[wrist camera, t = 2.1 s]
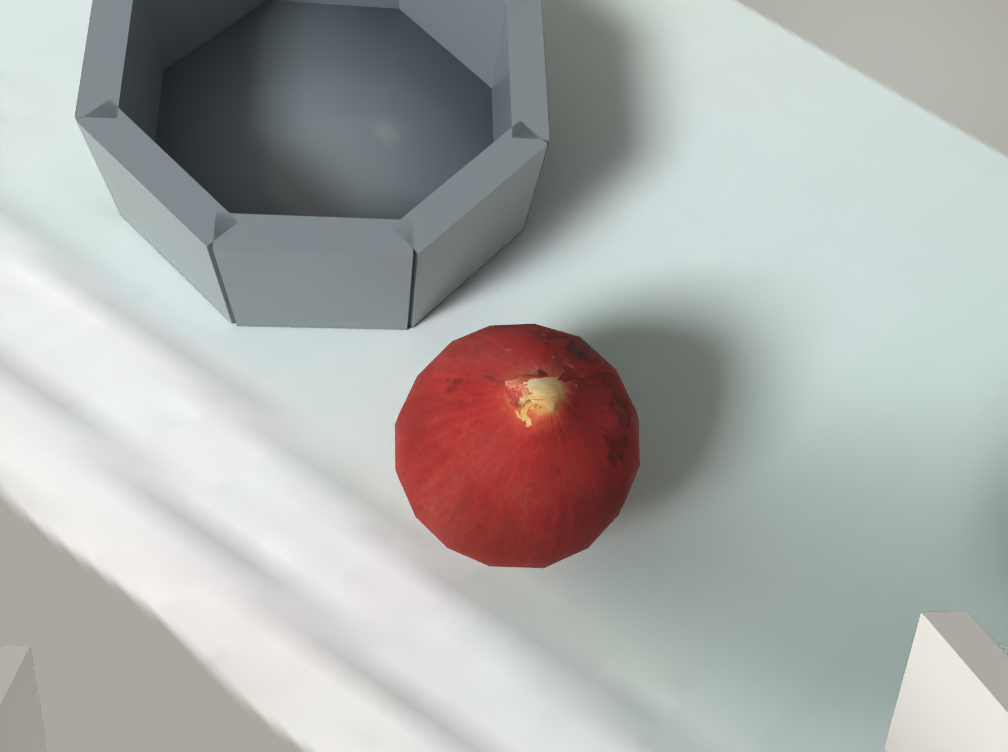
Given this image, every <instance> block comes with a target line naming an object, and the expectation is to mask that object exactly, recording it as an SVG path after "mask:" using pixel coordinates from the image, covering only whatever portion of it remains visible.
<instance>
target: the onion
mask: <svg viewBox="0 0 1008 752" xmlns="http://www.w3.org/2000/svg"><path fill="white" fill-rule="evenodd" d="M639 465H640V461H639V423H638V416H637V412H636V410H635V408H634V406H633V404H632V402H631V400H630V398H629V396H628V394H627V391H626V389H625V387H624V385H623V383H622V381H621V379H620V377H619V375H618V373H617V371H616V369H614V368H613V367H612V366H611V365H610V364H609V363H608V362H607V361H606V360H605V359H603V358H602V357H601V356H600V355H599V354H598V353H597V352H596V351H595V350H594V349H593V348H591V347H590V346H589V345H588V344H587V343H586V342H585V341H584V340H583V339H582V338H580V337H578V336H575V335H571V334H568V333H564V332H561V331H557V330H554V329H550V328H547V327H543V326H540V325H536V324H519V325H494V326H488V327H486V328H483V329H481V330H478V331H476V332H474V333H471V334H469V335H466V336H464V337H462V338H459V339H457V340H454V341H452V342H451V343H450V344H449V345H448V346H447V347H446V348H445V349H444V350H443V351H442V352H441V353H440V354H439V355H438V356H437V357H436V358H435V359H434V360H433V361H432V362H431V363H430V364H429V365H428V366H427V367H426V368H425V369H424V370H423V371H422V372H421V373H420V374H419V375H418V376H417V378H416V380H415V382H414V384H413V386H412V388H411V390H410V392H409V395H408V397H407V399H406V401H405V403H404V405H403V407H402V409H401V411H400V413H399V416H398V418H397V421H396V424H395V469H396V472H397V475H398V478H399V480H400V482H401V484H402V487H403V489H404V491H405V494H406V496H407V498H408V500H409V503H410V505H411V507H412V509H413V512H414V514H415V516H416V518H417V519H418V520H419V521H421V522H422V523H423V524H424V525H425V526H426V527H427V528H428V529H429V530H430V531H431V532H432V533H433V534H434V535H435V536H436V537H437V538H438V539H439V540H440V541H441V542H442V543H443V544H444V545H445V546H446V547H447V548H449V549H451V550H454V551H456V552H458V553H461V554H463V555H465V556H467V557H470V558H472V559H474V560H477V561H479V562H481V563H484V564H486V565H488V566H500V567H531V568H545V567H547V566H549V565H551V564H554V563H556V562H558V561H560V560H562V559H565V558H567V557H569V556H571V555H573V554H576V553H578V552H580V551H582V550H585V549H587V548H588V547H589V546H590V545H591V544H592V543H593V542H594V541H595V540H596V539H597V537H598V536H599V535H600V534H601V533H602V532H603V531H604V530H605V529H606V528H607V527H608V526H609V524H610V523H611V522H612V521H613V520H614V519H615V518H616V517H617V516H618V514H619V512H620V510H621V508H622V506H623V504H624V502H625V499H626V497H627V495H628V492H629V490H630V487H631V485H632V482H633V480H634V478H635V475H636V473H637V470H638V468H639Z"/></svg>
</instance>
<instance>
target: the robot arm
mask: <svg viewBox="0 0 1008 752" xmlns="http://www.w3.org/2000/svg"><path fill="white" fill-rule="evenodd" d="M884 749H885V750H886V752H1008V655H1007V654H1006V652H1005V651H1004V650H1003V649H1002V648H1001V647H1000V646H999V645H998V644H997V643H996V642H995V641H994V640H993V639H992V637H991V636H990V635H989V634H988V633H987V632H986V631H985V630H984V629H983V628H982V627H981V626H980V625H979V623H978V622H977V621H976V620H975V619H974V618H973V617H972V616H971V615H970V614H969V613H968V612H967V611H940V612H921V615H920V619H919V622H918V626H917V630H916V633H915V637H914V641H913V644H912V648H911V652H910V655H909V659H908V663H907V666H906V670H905V674H904V677H903V681H902V685H901V688H900V692H899V696H898V699H897V703H896V707H895V710H894V714H893V718H892V721H891V725H890V729H889V732H888V736H887V740H886V743H885V747H884ZM0 752H48V748H47V742H46V736H45V730H44V725H43V718H42V712H41V706H40V700H39V694H38V688H37V682H36V676H35V670H34V664H33V658H32V653H31V646H30V645H17V646H0Z"/></svg>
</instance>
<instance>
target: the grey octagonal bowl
mask: <svg viewBox="0 0 1008 752" xmlns="http://www.w3.org/2000/svg"><path fill="white" fill-rule="evenodd" d="M75 118H76V120H77V123H78V126H79V128H80V130H81V132H82V134H83V136H84V138H85V140H86V143H87V145H88V147H89V149H90V151H91V153H92V155H93V157H94V160H95V162H96V164H97V166H98V168H99V170H100V172H101V174H102V177H103V179H104V181H105V183H106V185H107V187H108V189H109V191H110V194H111V196H112V198H113V200H114V202H115V204H116V206H117V208H118V211H119V213H120V215H121V216H122V217H123V218H124V219H125V220H126V221H127V222H128V223H129V224H130V225H131V226H132V227H133V228H134V229H135V230H136V231H137V232H138V233H139V234H141V235H142V236H143V237H144V238H145V239H146V240H147V241H148V242H149V243H150V244H151V245H152V246H153V247H154V248H155V249H156V250H157V251H158V252H159V253H160V254H161V255H162V256H163V257H164V258H165V259H166V260H167V261H168V262H169V263H170V264H171V265H172V266H173V267H174V268H175V269H176V270H177V271H178V272H179V273H180V274H181V275H183V276H184V277H185V278H186V279H187V280H188V281H189V282H190V283H191V284H192V285H193V286H194V287H195V288H196V289H197V290H198V291H199V292H200V293H201V294H202V295H203V296H204V297H205V298H206V299H207V300H208V301H209V302H210V303H211V304H212V305H213V306H214V307H215V308H216V309H217V310H218V311H219V312H220V313H221V314H222V315H223V316H224V317H226V318H227V319H228V320H229V321H230V322H231V323H234V322H235V321H236V324H237V326H264V327H309V328H354V329H399V330H407V324H408V325H410V326H411V327H412V328H413V327H414V326H415V325H416V324H417V323H418V322H419V321H420V320H422V319H423V318H424V317H425V316H426V315H427V314H428V313H429V312H431V311H432V310H433V309H434V308H435V307H436V306H437V305H439V304H440V303H441V302H442V301H443V300H444V299H445V298H446V297H448V296H449V295H450V294H451V293H452V292H453V291H454V290H455V289H457V288H458V287H459V286H460V285H461V284H462V283H463V282H464V281H466V280H467V279H468V278H469V277H470V276H471V275H472V274H474V273H475V272H476V271H477V270H478V269H479V268H480V267H481V266H483V265H484V264H485V263H486V262H487V261H488V260H489V259H490V258H492V257H493V256H494V255H495V254H496V253H497V252H498V251H499V250H501V249H502V248H503V247H504V246H505V245H506V244H507V243H509V242H510V241H511V240H512V239H513V238H514V237H515V236H516V235H518V234H519V233H520V232H521V231H522V230H523V228H524V226H525V223H526V219H527V216H528V212H529V209H530V206H531V202H532V199H533V195H534V192H535V188H536V185H537V181H538V178H539V174H540V171H541V168H542V164H543V161H544V157H545V154H546V150H547V147H548V143H549V140H550V138H549V121H548V104H547V87H546V70H545V53H544V36H543V19H542V2H541V0H93V2H92V9H91V15H90V22H89V28H88V34H87V41H86V47H85V54H84V60H83V67H82V73H81V79H80V86H79V92H78V99H77V105H76V111H75Z"/></svg>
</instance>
